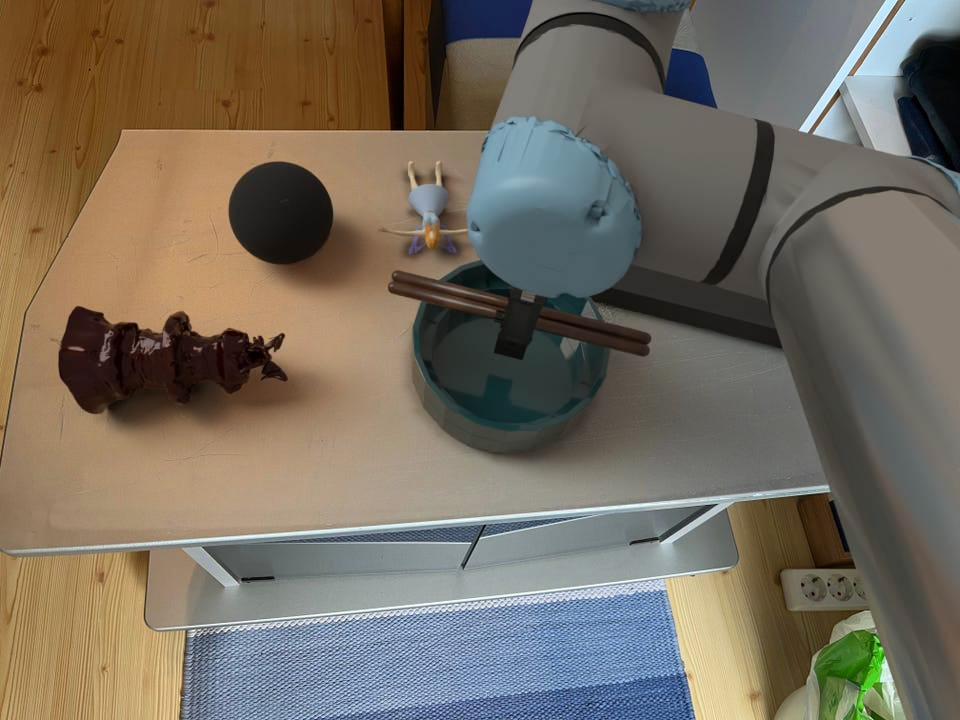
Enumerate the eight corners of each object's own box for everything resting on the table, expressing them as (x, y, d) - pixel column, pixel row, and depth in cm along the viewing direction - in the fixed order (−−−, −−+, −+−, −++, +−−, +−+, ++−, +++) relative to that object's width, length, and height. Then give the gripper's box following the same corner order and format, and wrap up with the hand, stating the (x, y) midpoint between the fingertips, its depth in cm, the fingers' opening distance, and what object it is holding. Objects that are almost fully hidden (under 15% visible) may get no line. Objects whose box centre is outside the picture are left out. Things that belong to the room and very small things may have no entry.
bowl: (578, 476, 69) (593, 453, 64) (389, 427, 69) (388, 401, 64) (606, 315, 78) (621, 283, 72) (438, 272, 78) (441, 238, 73)
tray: (793, 351, 78) (808, 336, 75) (551, 290, 78) (556, 274, 76) (796, 266, 83) (809, 250, 80) (568, 210, 84) (574, 192, 81)
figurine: (104, 391, 72) (295, 384, 75) (65, 434, 62) (286, 424, 65) (89, 291, 69) (289, 289, 71) (46, 320, 59) (279, 316, 62)
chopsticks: (650, 338, 65) (653, 331, 64) (646, 360, 64) (650, 354, 63) (393, 273, 65) (393, 266, 64) (385, 294, 64) (385, 287, 63)
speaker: (354, 258, 78) (349, 195, 69) (267, 299, 74) (249, 239, 66) (307, 193, 81) (297, 125, 72) (222, 230, 78) (200, 163, 69)
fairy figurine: (477, 149, 82) (490, 229, 75) (473, 182, 86) (486, 261, 79) (372, 150, 80) (376, 231, 74) (373, 184, 84) (377, 264, 78)
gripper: (530, 63, 51) (490, 263, 72) (480, 234, 44) (452, 402, 64) (636, 89, 51) (566, 282, 71) (604, 265, 44) (536, 424, 64)
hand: (512, 339), depth 68 cm, fingers closed on chopsticks, 2 cm apart
